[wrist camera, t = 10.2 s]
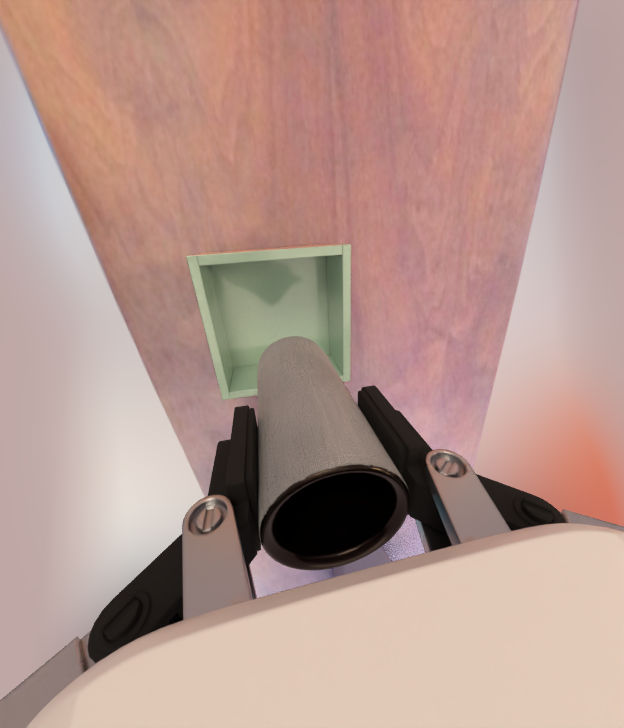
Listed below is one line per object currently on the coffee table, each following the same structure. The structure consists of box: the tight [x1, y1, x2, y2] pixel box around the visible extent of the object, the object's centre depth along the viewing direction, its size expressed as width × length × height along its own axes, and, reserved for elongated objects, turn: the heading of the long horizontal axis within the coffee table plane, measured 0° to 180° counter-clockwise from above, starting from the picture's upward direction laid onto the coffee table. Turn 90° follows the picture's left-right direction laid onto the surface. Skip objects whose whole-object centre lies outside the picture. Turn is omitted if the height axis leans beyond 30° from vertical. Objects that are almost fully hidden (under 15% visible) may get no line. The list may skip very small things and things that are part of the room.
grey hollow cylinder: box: [257, 336, 410, 570], centre depth 12 cm, size 4×4×10 cm
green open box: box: [186, 244, 351, 400], centre depth 27 cm, size 14×14×7 cm
